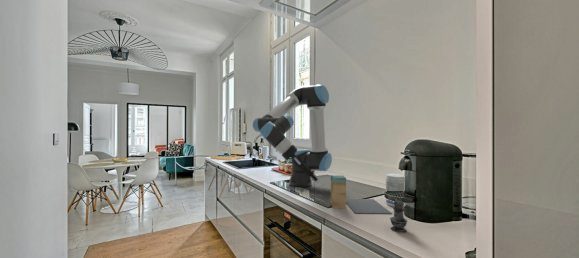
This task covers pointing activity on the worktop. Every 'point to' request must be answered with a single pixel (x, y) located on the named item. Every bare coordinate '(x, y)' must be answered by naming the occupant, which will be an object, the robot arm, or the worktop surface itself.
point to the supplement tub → (394, 185)
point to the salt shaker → (398, 217)
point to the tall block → (338, 191)
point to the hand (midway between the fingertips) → (321, 184)
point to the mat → (366, 206)
